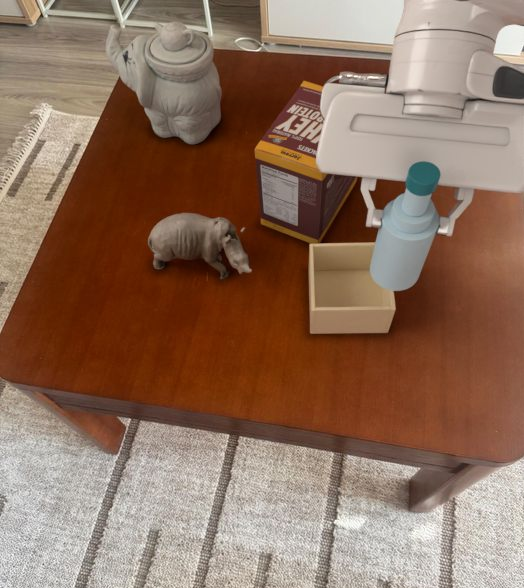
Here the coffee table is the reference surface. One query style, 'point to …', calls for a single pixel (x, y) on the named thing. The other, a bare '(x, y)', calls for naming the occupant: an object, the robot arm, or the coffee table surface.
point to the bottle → (406, 230)
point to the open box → (346, 291)
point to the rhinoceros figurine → (197, 241)
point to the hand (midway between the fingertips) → (407, 231)
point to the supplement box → (298, 172)
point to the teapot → (171, 79)
